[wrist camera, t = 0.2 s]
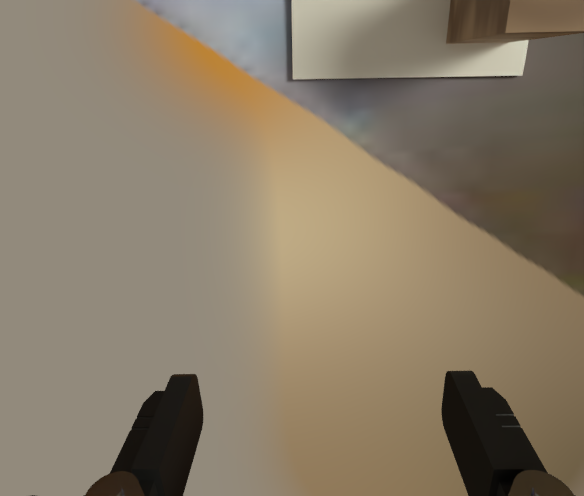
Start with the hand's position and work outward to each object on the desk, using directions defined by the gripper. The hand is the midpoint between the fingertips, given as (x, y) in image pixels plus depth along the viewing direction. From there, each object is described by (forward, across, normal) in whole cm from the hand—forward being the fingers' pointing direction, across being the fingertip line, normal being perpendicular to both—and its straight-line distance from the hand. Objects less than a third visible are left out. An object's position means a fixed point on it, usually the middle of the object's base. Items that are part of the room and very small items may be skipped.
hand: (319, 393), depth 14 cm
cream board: (+29, -8, -13) cm, 33 cm away
